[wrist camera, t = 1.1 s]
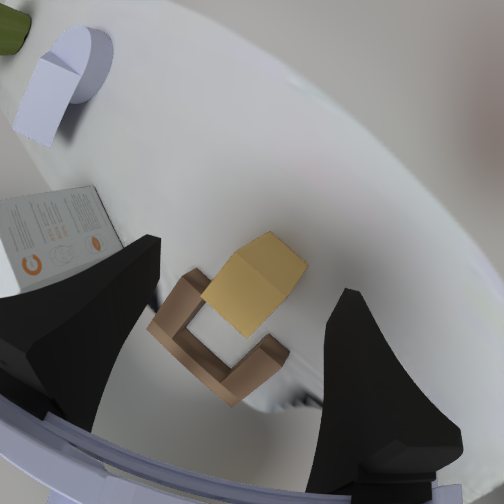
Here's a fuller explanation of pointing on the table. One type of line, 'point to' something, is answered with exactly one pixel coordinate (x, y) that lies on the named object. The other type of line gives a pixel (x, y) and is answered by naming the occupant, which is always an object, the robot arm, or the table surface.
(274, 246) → the ochre block
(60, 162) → the table surface
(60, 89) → the wedge on round base
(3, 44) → the plant pot
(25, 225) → the small box
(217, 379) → the notched board
